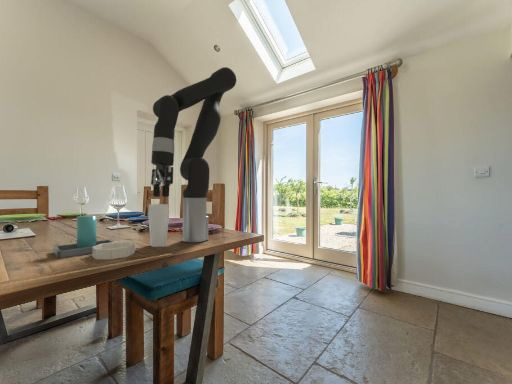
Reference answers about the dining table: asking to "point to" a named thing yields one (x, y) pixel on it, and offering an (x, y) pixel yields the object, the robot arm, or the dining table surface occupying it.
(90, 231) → the teal cylinder
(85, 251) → the parts tray
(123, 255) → the cream bowl
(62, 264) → the dining table surface
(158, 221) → the drinking glass
